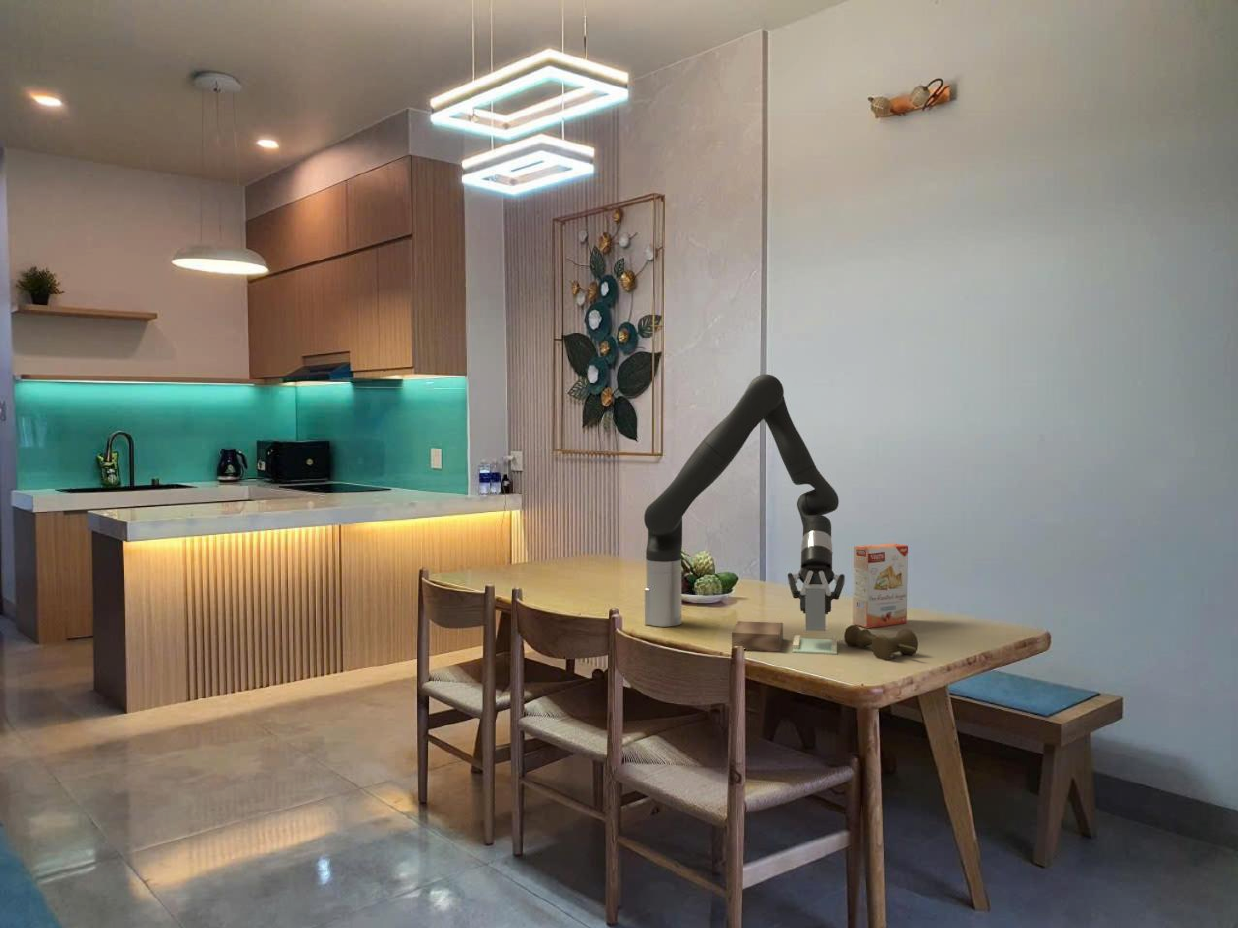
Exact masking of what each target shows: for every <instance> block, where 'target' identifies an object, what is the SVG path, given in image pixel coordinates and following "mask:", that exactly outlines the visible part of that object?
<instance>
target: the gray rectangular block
mask: <svg viewBox="0 0 1238 928" xmlns="http://www.w3.org/2000/svg"><path fill="white" fill-rule="evenodd" d="M804 614H805V617H804V618H805V621H804V622H805V631H809V632H810V631H811V632H812V631H814V632H826V627H827V621H826V619H827V618H826V615H827V614H825V585H822V584H809V585H806V587H805V613H804Z"/></svg>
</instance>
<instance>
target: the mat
mask: <svg viewBox="0 0 1238 928" xmlns="http://www.w3.org/2000/svg"><path fill="white" fill-rule="evenodd" d="M795 652H796V653H797V654H798V653H800V654H816V653H819V654H820V655H838V637H837V636H831V638H830V639H825V638H807V637H806V638H803V637H802V638H801V635H798V634H797V635H794V638H793V643H792V653H795Z"/></svg>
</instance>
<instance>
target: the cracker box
mask: <svg viewBox="0 0 1238 928" xmlns="http://www.w3.org/2000/svg"><path fill="white" fill-rule="evenodd" d="M853 555H854V556H853V605H852V606H853V607H852V609H853V611H852V612H853V613H852V620H853V621H852V623H853V624H852V625H856V626H857V627H862V628H864V629H870V628H871V629H872V628H879V627H886V626H893V625H894V626H895V625H902V624H907V623H908V581H909V579H908V576H909V574H908V572H909V571H908V570H909V568H908V567H909V545H906V544H902V543H897V542H894V543H892V542H890V543H881V544H869V545H866V544H865V545H855V546H854V548H853Z"/></svg>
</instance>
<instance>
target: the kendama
mask: <svg viewBox="0 0 1238 928" xmlns="http://www.w3.org/2000/svg"><path fill="white" fill-rule="evenodd" d="M843 636H844V637H843V639H844V642H845V644H846V645H847V646H848V647H854V646H856V645H858V646H859V647H861V648H863V649H864V648H868V647H869V646H871V650H872V652H873V655H874V656H875V657H876V658H877V659H879V660H883V661H887V660H889V659H890V658H891V657H892V655H894V653H898V652H899V653H901V654H904V655H908V656H912V655H914V654H916V653H917V651H918V648H919V642H918V641H919V640H918V637H917V635H916V634H915V632H914V631H913V630H910V629H908V628H902V629H900V630H899V631H898V632H897V634H896V635H895V636H894V637H893V636H892V637H887V636H884V635H875V634H872V632H871V630H869V628H864V629H861V628H860V626H858V625H855V624H852V625H849V626H848V627H847V628H845V631H844V635H843Z"/></svg>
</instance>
